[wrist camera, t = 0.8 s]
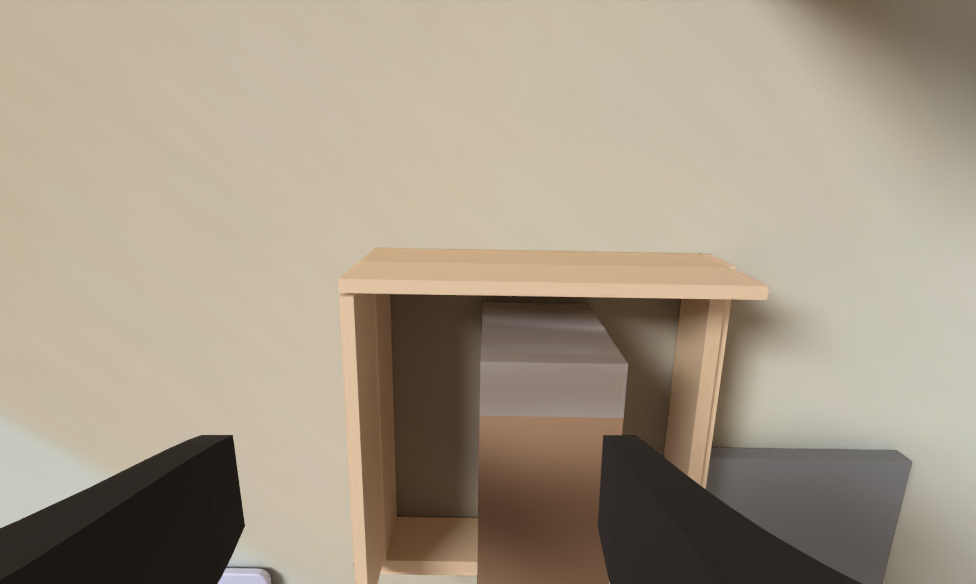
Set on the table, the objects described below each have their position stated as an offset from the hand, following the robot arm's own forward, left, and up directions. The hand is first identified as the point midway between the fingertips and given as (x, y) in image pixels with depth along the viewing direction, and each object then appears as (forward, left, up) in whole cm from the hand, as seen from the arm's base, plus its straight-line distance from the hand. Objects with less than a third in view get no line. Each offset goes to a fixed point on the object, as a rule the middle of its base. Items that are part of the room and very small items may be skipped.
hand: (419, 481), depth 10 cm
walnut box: (-3, -3, -10) cm, 11 cm away
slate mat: (-11, -14, -10) cm, 21 cm away
